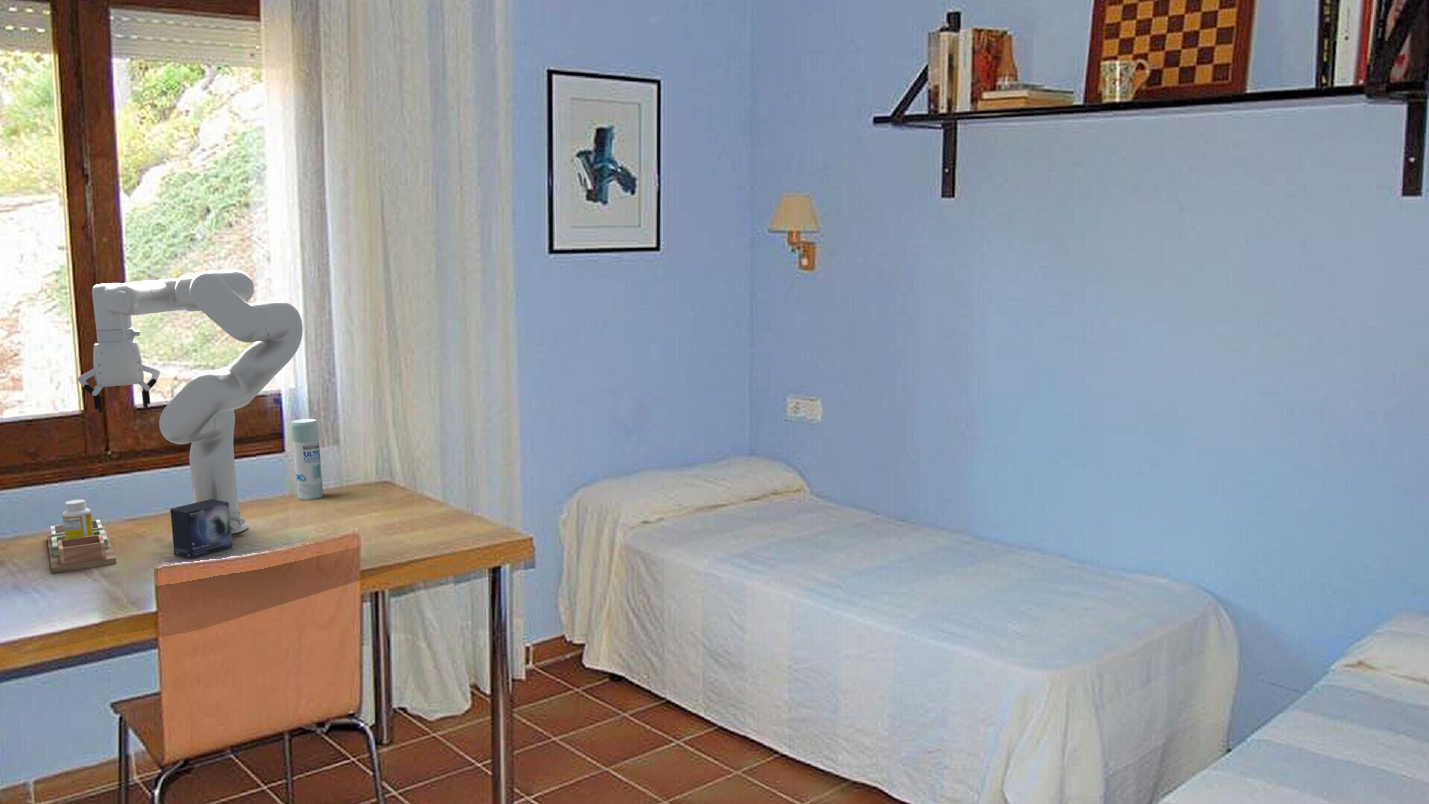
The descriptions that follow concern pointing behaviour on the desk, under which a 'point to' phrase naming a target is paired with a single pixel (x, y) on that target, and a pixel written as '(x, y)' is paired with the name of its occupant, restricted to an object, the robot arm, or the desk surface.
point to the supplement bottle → (77, 520)
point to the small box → (201, 528)
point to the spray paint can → (307, 458)
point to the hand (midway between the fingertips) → (123, 409)
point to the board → (79, 549)
